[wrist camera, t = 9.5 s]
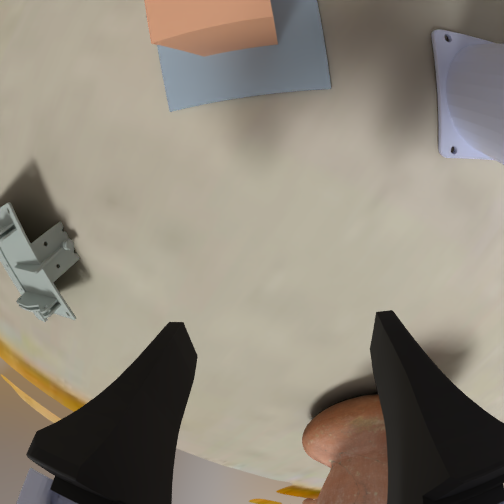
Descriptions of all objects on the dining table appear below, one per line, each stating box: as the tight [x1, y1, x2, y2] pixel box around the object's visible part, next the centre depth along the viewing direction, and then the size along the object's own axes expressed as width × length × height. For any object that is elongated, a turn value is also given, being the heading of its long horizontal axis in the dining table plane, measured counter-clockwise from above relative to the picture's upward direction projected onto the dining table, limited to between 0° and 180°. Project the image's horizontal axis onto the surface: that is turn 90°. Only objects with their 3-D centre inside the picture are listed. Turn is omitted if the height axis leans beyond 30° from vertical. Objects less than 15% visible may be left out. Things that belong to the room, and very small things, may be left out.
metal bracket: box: [0, 202, 80, 322], centre depth 22 cm, size 14×6×15 cm
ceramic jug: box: [302, 394, 388, 504], centre depth 24 cm, size 18×14×14 cm
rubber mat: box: [157, 0, 331, 112], centre depth 12 cm, size 9×9×1 cm
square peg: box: [144, 0, 278, 57], centre depth 9 cm, size 4×4×7 cm
